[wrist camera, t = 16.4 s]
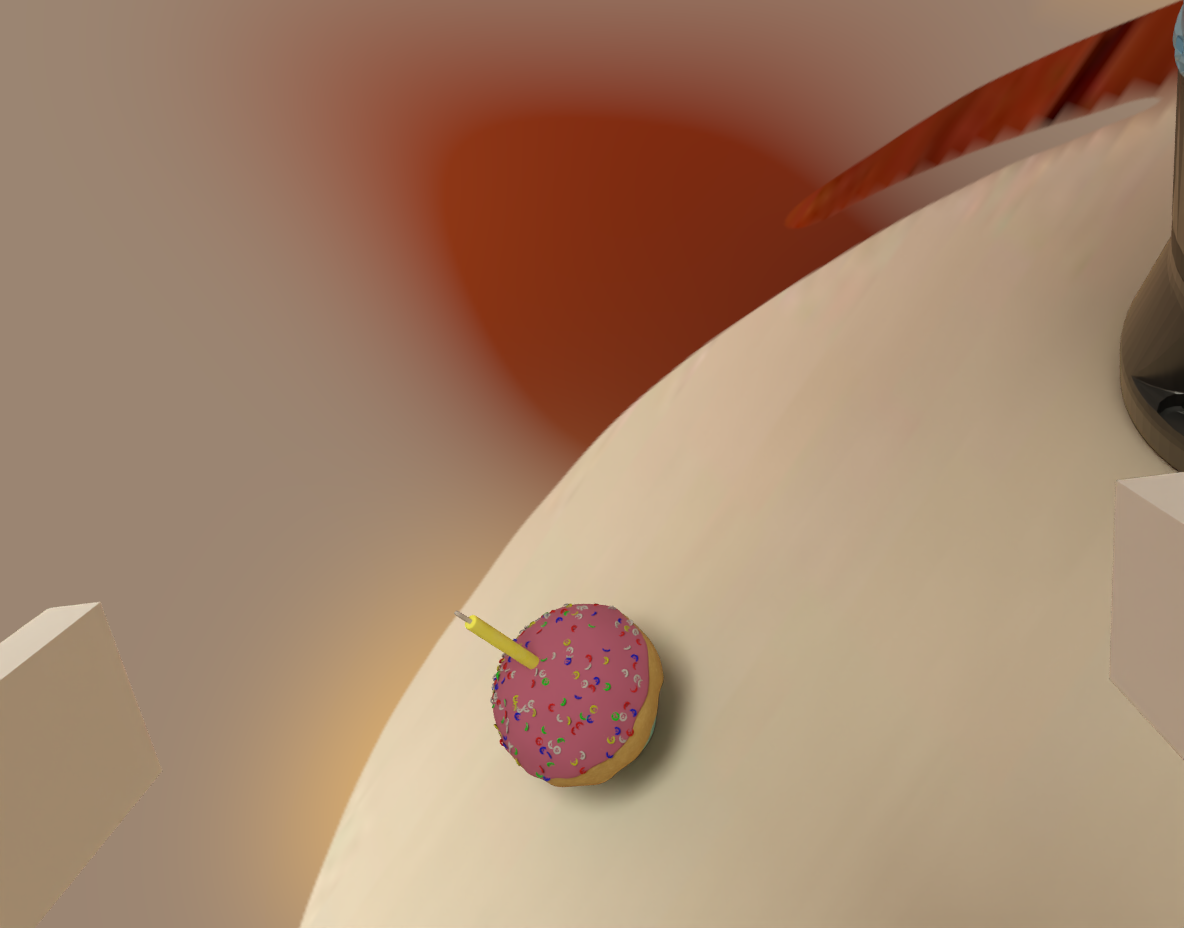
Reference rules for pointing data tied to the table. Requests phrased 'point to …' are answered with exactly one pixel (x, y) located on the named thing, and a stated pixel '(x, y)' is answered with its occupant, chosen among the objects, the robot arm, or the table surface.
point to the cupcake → (574, 693)
